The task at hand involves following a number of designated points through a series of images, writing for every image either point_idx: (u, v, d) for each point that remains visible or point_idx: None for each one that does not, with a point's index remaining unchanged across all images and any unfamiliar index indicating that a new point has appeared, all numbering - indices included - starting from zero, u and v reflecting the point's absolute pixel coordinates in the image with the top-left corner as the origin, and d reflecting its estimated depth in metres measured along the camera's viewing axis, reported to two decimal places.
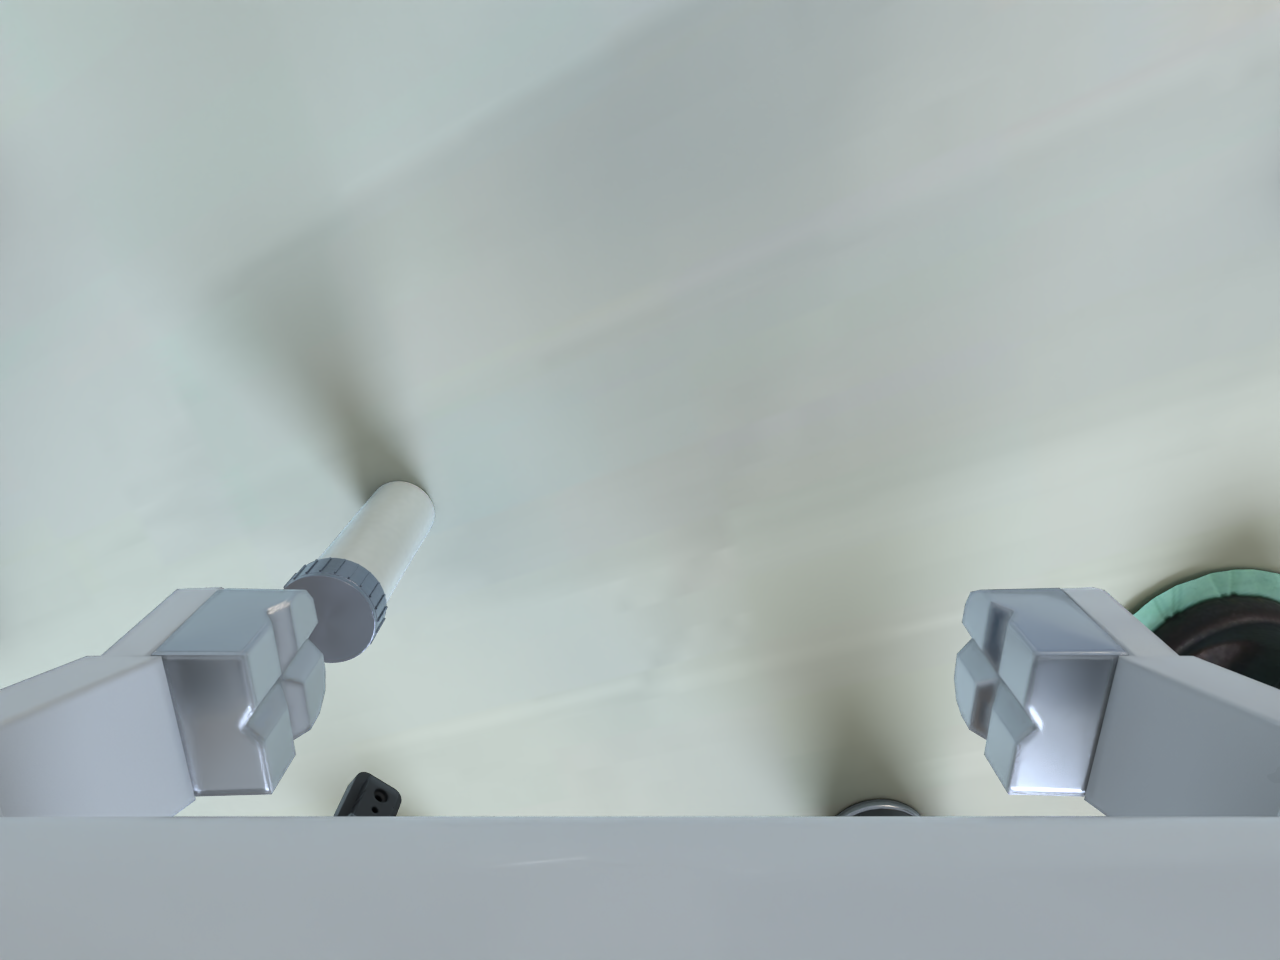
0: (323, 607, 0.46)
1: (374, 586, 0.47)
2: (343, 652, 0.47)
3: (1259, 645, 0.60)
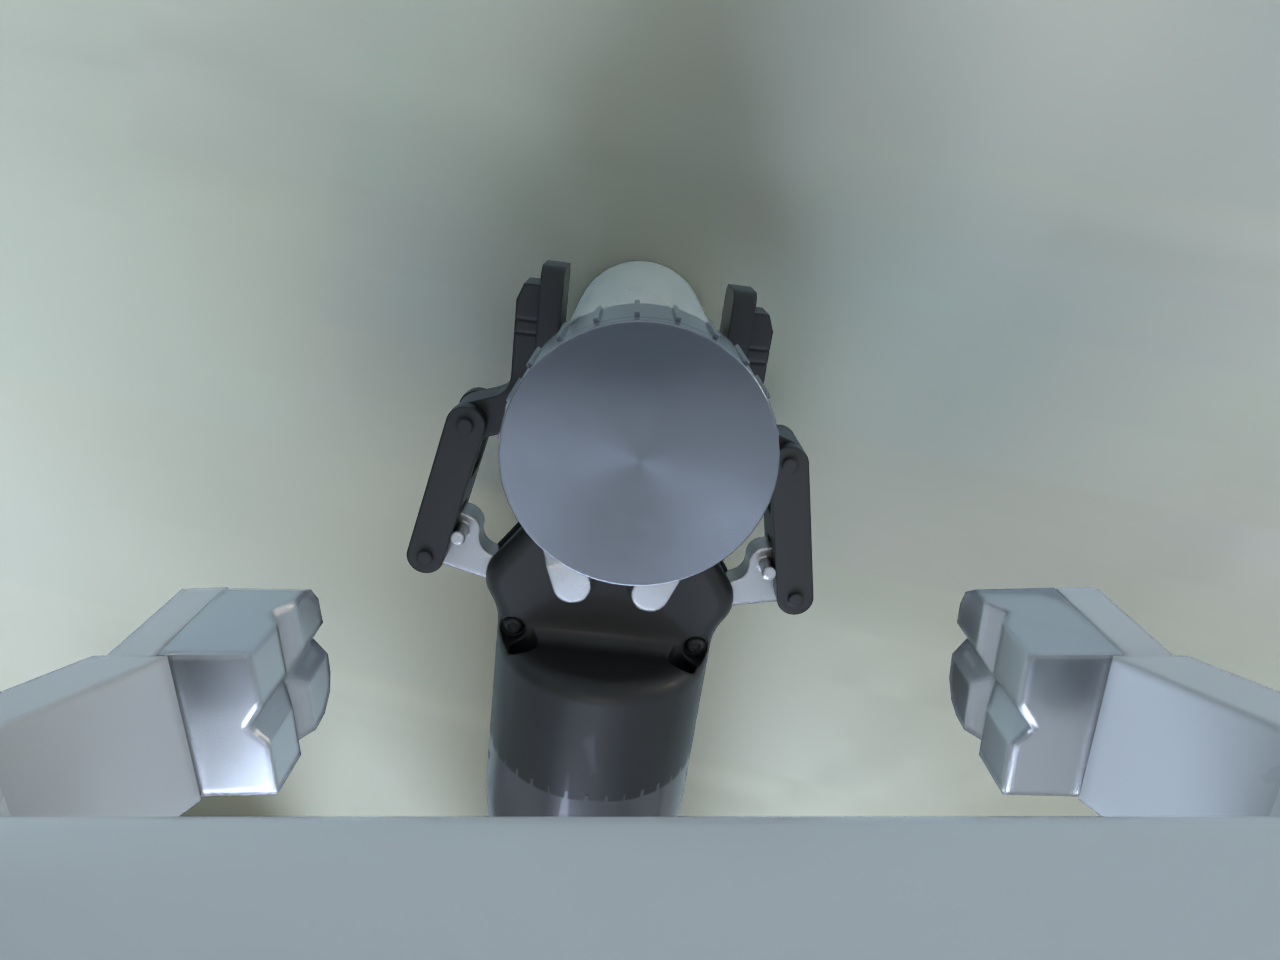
0: (663, 429, 0.16)
1: None
2: (615, 560, 0.17)
3: None
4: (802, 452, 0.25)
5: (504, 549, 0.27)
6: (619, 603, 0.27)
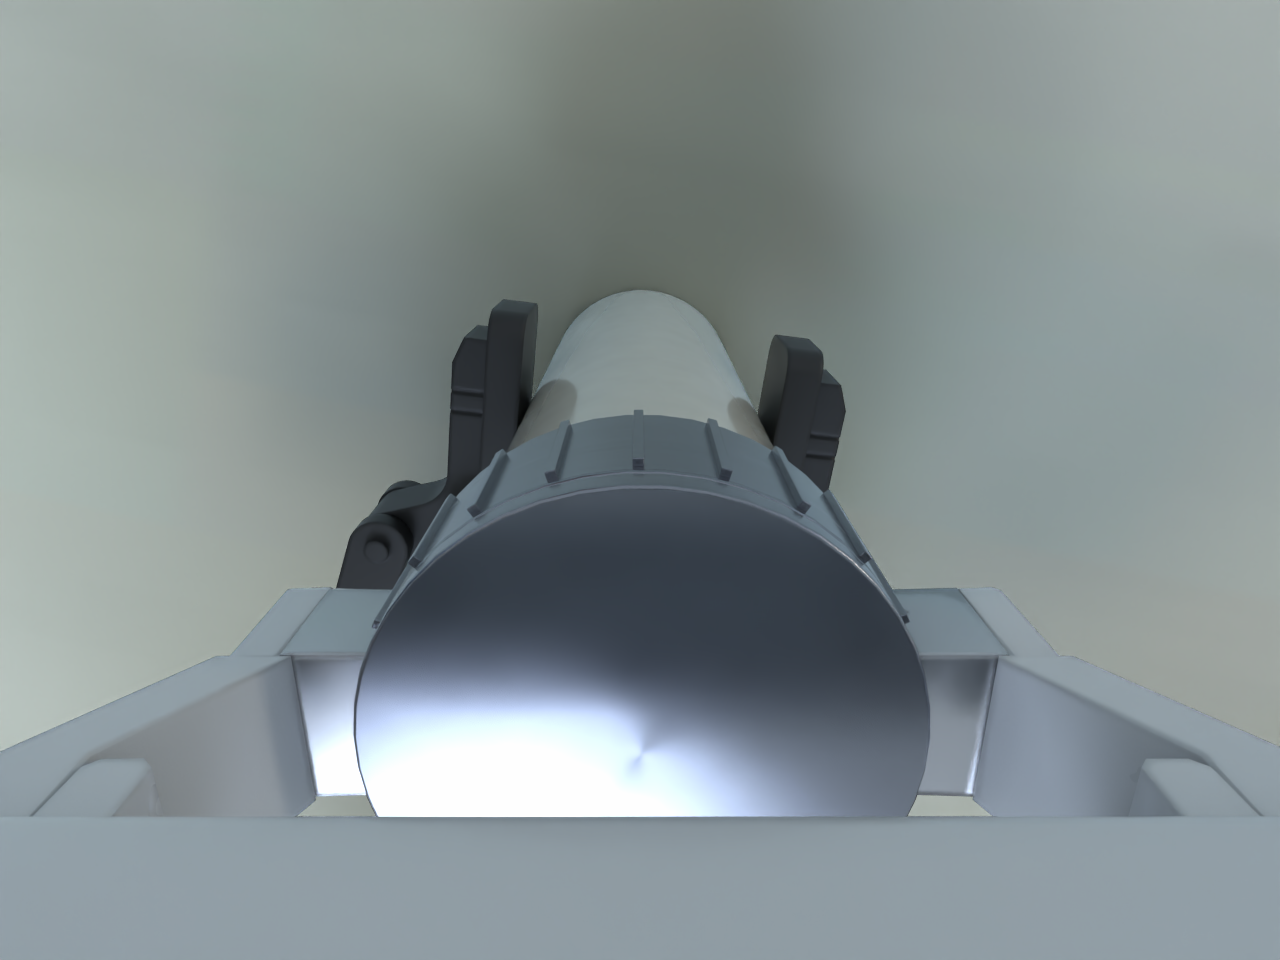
0: (692, 697, 0.08)
1: None
2: None
3: None
4: None
5: None
6: None
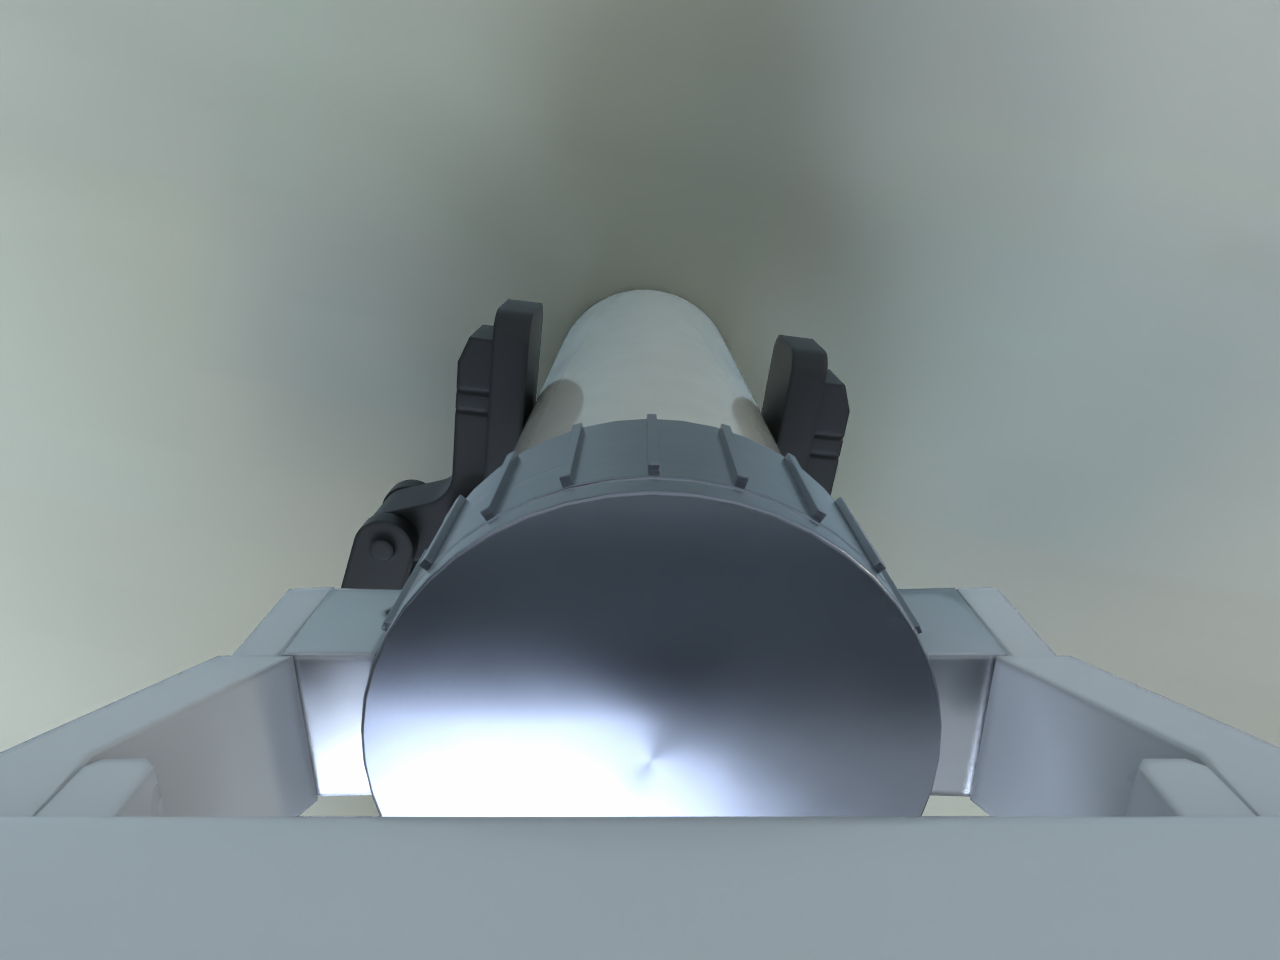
0: (610, 699, 0.08)
1: (787, 475, 0.09)
2: None
3: None
4: None
5: None
6: None
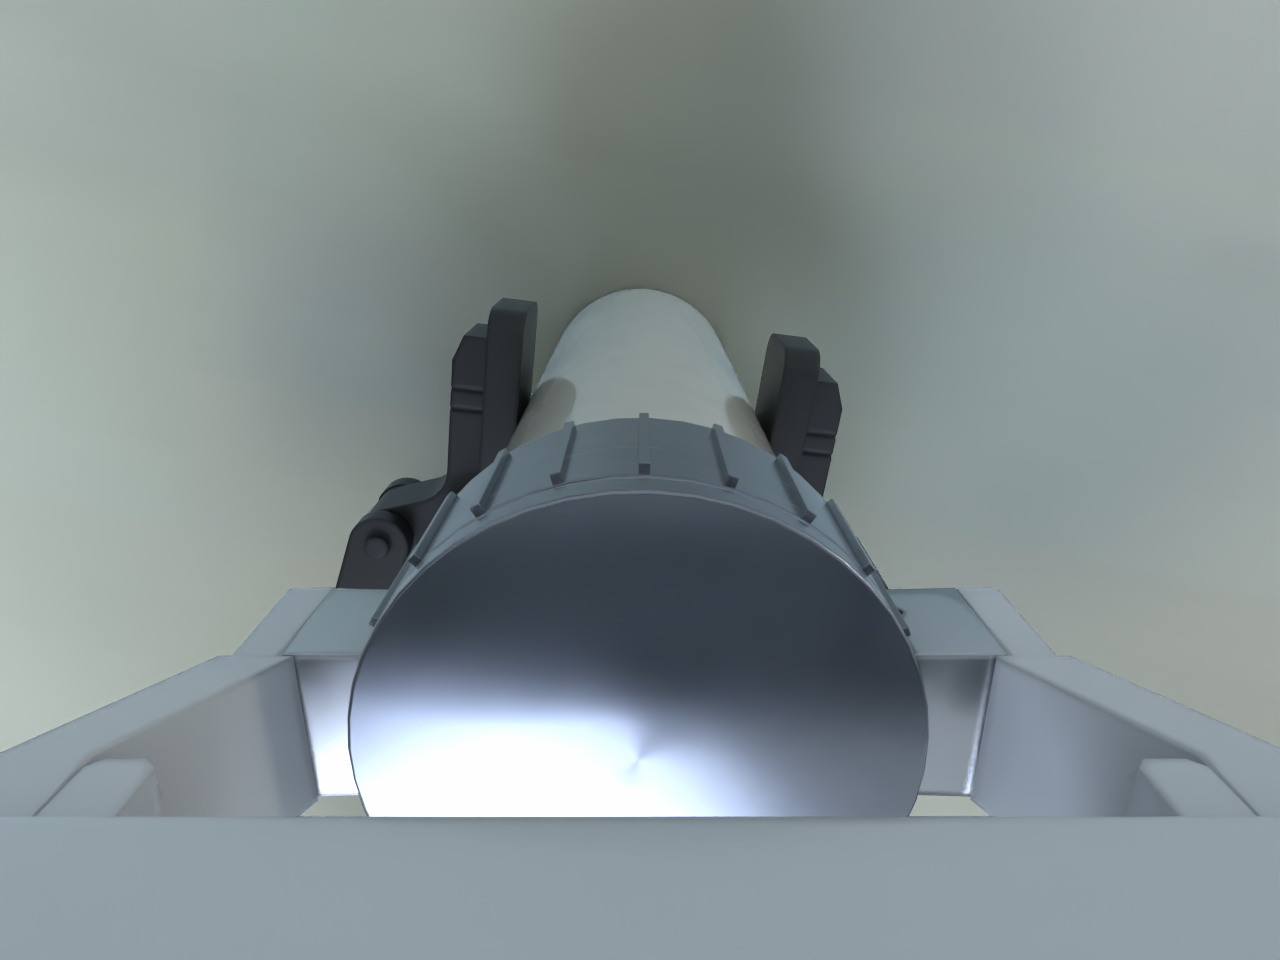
0: (554, 764, 0.08)
1: None
2: (855, 673, 0.08)
3: None
4: None
5: None
6: None
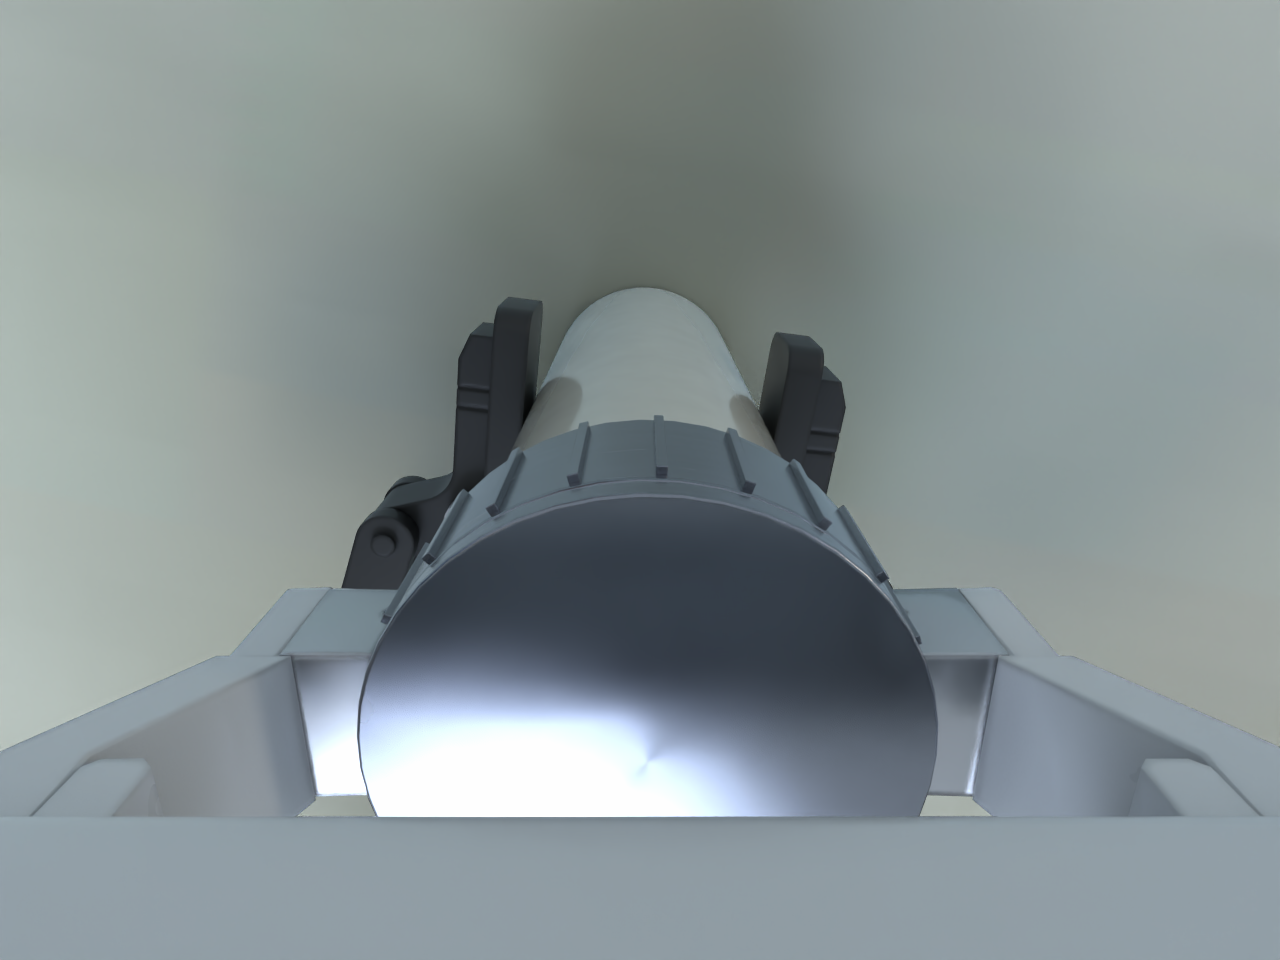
0: None
1: None
2: (646, 554, 0.07)
3: None
4: None
5: None
6: None
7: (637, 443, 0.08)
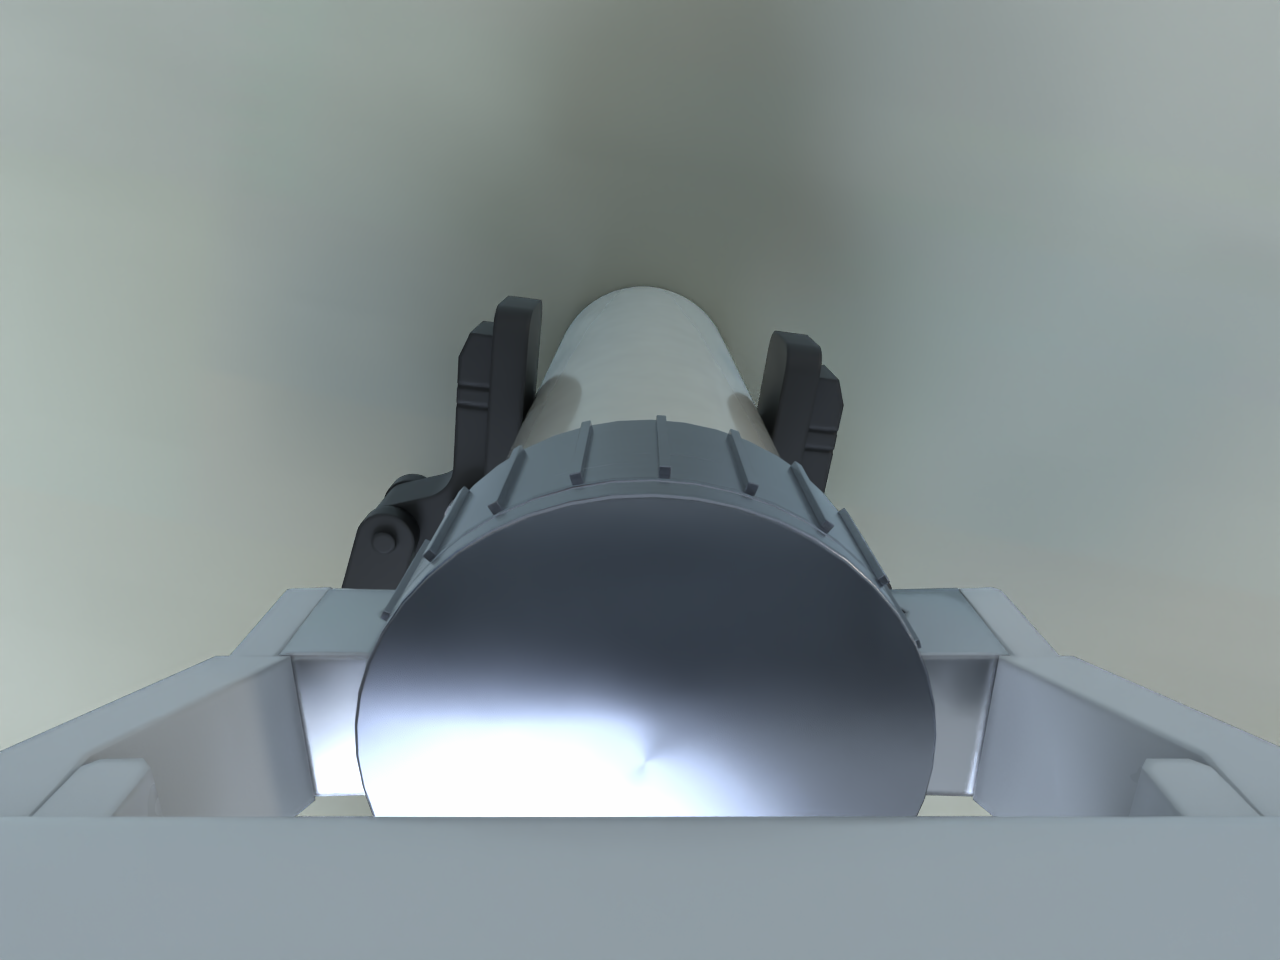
0: (699, 812, 0.08)
1: None
2: (426, 680, 0.08)
3: None
4: None
5: None
6: None
7: None
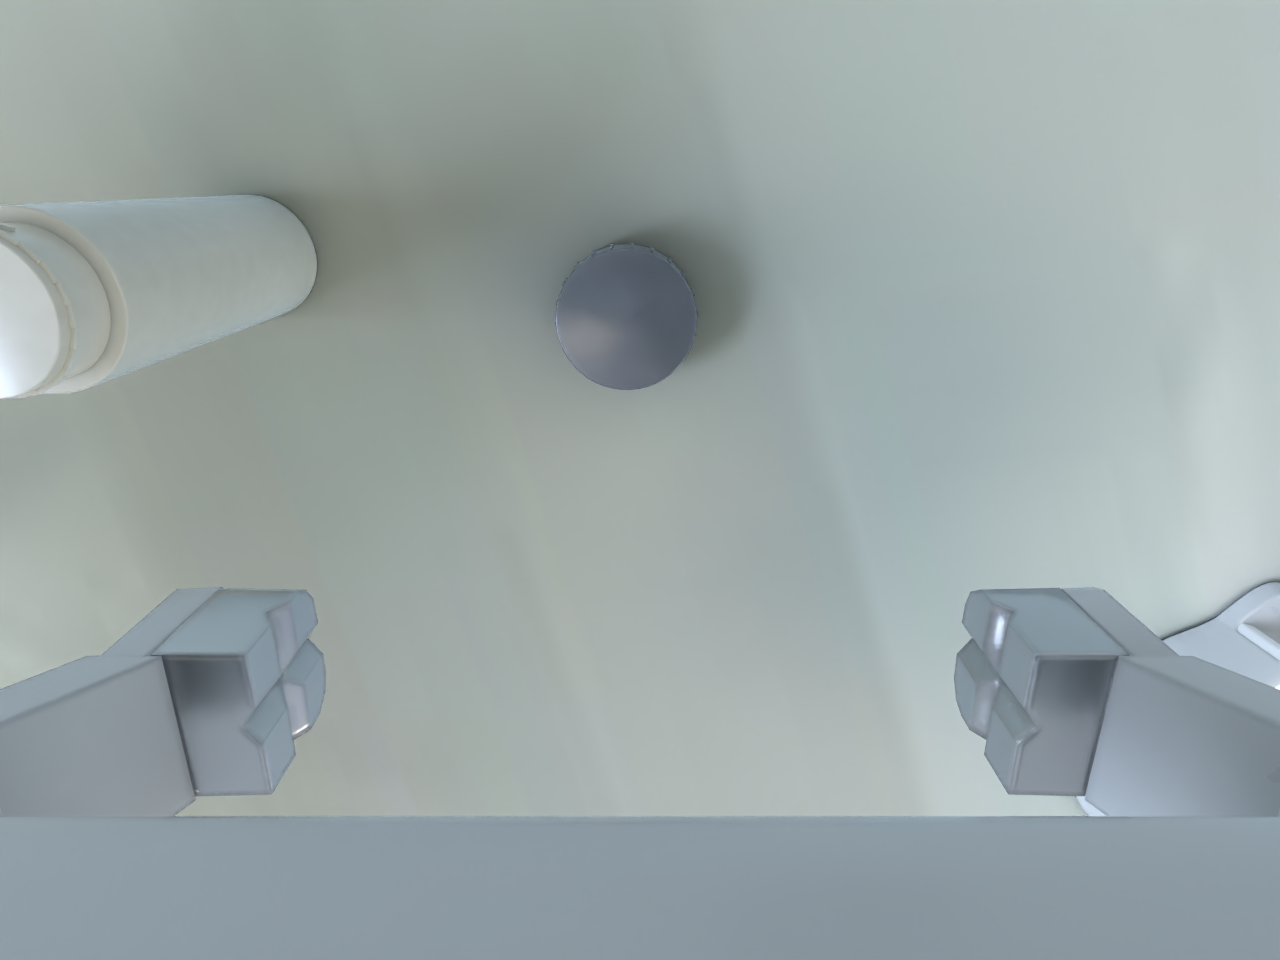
0: (645, 315, 0.33)
1: None
2: (583, 356, 0.33)
3: None
4: None
5: None
6: None
7: None
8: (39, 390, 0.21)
